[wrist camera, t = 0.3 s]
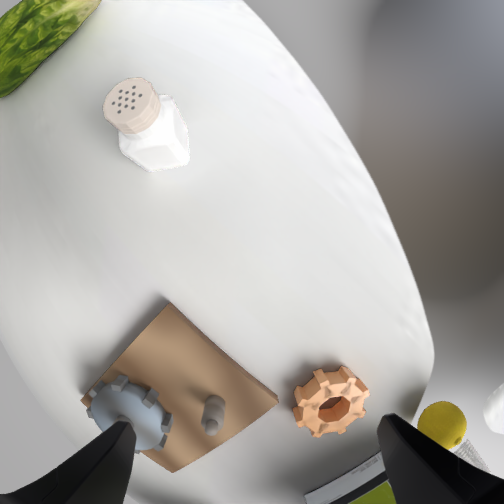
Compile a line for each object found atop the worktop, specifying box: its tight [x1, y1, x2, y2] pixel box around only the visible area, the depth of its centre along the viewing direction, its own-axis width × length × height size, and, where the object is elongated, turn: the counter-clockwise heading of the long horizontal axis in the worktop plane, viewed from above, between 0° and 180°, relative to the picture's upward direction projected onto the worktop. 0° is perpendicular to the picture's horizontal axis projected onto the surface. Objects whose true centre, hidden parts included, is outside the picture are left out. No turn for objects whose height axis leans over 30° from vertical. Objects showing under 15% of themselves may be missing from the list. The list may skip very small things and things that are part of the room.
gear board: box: [80, 302, 279, 473], centre depth 20 cm, size 16×13×5 cm
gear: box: [292, 366, 370, 438], centre depth 22 cm, size 7×7×2 cm
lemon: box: [417, 401, 467, 450], centre depth 20 cm, size 6×6×8 cm
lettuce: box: [0, 0, 102, 98], centre depth 15 cm, size 12×21×11 cm, turn 118°
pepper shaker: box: [103, 78, 190, 172], centre depth 17 cm, size 4×4×10 cm
